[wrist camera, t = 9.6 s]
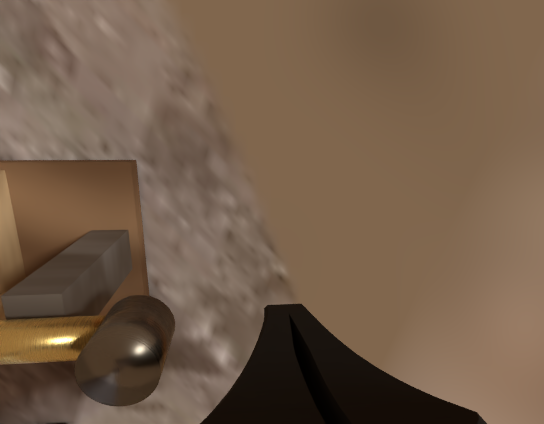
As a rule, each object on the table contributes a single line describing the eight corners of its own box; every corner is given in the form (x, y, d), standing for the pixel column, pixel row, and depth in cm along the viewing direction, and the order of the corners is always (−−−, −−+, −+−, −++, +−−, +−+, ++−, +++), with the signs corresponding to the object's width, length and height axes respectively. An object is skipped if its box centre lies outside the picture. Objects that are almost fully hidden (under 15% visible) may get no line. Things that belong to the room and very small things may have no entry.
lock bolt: (177, 349, 13) (163, 403, 10) (-81, 364, 12) (-164, 426, 9) (173, 292, 12) (156, 334, 10) (-100, 302, 11) (-194, 352, 9)
